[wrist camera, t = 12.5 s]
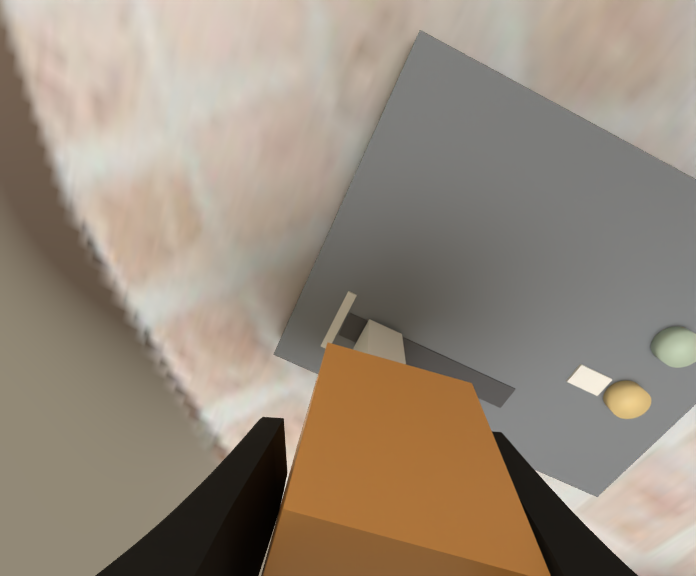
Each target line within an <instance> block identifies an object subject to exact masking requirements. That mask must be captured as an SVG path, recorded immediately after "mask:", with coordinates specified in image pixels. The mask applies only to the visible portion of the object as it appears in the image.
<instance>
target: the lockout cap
mask: <svg viewBox="0 0 696 576" xmlns="http://www.w3.org/2000/svg"><path fill="white" fill-rule="evenodd" d="M261 576H551V575H550V573H549V570H548V568H547V565H546V563H545V560H544V558H543V556H542V553H541V551H540V548H539V546H538V543H537V541H536V538H535V536H534V534H533V531H532V529H531V526H530V524H529V521H528V519H527V516H526V514H525V512H524V509H523V507H522V504H521V502H520V499H519V497H518V494H517V492H516V490H515V487H514V485H513V482H512V480H511V477H510V475H509V473H508V470H507V468H506V465H505V463H504V460H503V458H502V455H501V453H500V451H499V448H498V446H497V443H496V441H495V438H494V436H493V433H492V431H491V429H490V426H489V424H488V421H487V419H486V416H485V414H484V411H483V409H482V407H481V404H480V402H479V399H478V397H477V394H476V392H475V389H474V387H473V385H472V383H469V382H466V381H462V380H459V379H455V378H452V377H448V376H445V375H441V374H438V373H434V372H431V371H427V370H424V369H420V368H416V367H413V366H409V365H406V364H402V363H399V362H395V361H392V360H388V359H385V358H381V357H378V356H374V355H371V354H367V353H364V352H360V351H357V350H353V349H349V348H346V347H342V346H339V345H335V344H332V343H328V342H327V346H326V349H325V353H324V356H323V359H322V363H321V366H320V370H319V373H318V377H317V380H316V383H315V387H314V390H313V394H312V397H311V401H310V404H309V407H308V411H307V414H306V418H305V421H304V424H303V428H302V431H301V435H300V438H299V442H298V445H297V448H296V452H295V455H294V459H293V463H292V466H291V470H290V473H289V477H288V481H287V484H286V488H285V492H284V495H283V499H282V502H281V506H280V510H279V513H278V517H277V521H276V524H275V528H274V532H273V535H272V539H271V542H270V546H269V549H268V553H267V557H266V560H265V564H264V568H263V571H262V575H261Z"/></svg>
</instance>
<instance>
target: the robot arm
mask: <svg viewBox="0 0 696 576" xmlns="http://www.w3.org/2000/svg"><path fill="white" fill-rule="evenodd" d="M492 433H493V436H494V438H495V441H496V443H497V446H498V448H499V451H500V453H501V455H502V458H503V460H504V463H505V465H506V468H507V470H508V473H509V475H510V477H511V480H512V482H513V485H514V487H515V490H516V492H517V494H518V497H519V499H520V502H521V504H522V507H523V509H524V512H525V514H526V516H527V519H528V521H529V524H530V526H531V529H532V531H533V534H534V536H535V538H536V541H537V543H538V546H539V548H540V551H541V553H542V556H543V558H544V560H545V563H546V565H547V568H548V570H549V573H550V575H551V576H638V575H637V574H636V573H634V572H633V571H632V570H631V569H630V568H629V567H628V566H627V565H626V564H625V563H623V562H622V561H621V560H620V559H619V558H618V557H617V556H616V555H615V554H614V553H613V552H612V551H611V550H610V549H609V548H608V547H607V546H606V545H605V544H604V543H603V542H602V541H601V540H600V539H599V538H598V537H597V536H596V535H595V534H594V533H593V532H592V531H591V530H590V529H589V528H588V527H587V526H586V525H585V524H584V523H583V522H582V521H581V520H580V519H579V518H578V517H577V516H576V515H575V514H574V513H573V512H572V511H571V510H570V509H569V508H568V506H567V505H566V504H565V503H564V502H563V501H562V500H561V499H560V498H559V497H558V496H557V495H556V493H555V492H554V491H553V490H552V489H551V488H550V487H549V486H548V485H547V484H546V482H545V481H544V480H543V479H542V478H541V477H540V476H539V475H538V473H537V472H536V471H535V470H534V469H533V468H532V467H531V465H530V464H529V463H528V462H527V461H526V460H525V459H524V457H523V456H522V455H521V454H520V453H519V452H518V450H517V449H516V448H515V447H514V446H513V445H512V443H511V442H510V441H509V440H508V439H507V438H506V437H505V435H504V434H503V433H502V432H493V431H492ZM286 477H287V461H286V446H285V431H284V418H270V417H262V418H261V419H260V420H259V421H258V422H257V423H256V424H255V425H254V426H253V428H252V429H251V430H250V431H249V432H248V433H247V435H246V436H245V437H244V438H243V439H242V440H241V441H240V443H239V444H238V445H237V446H236V447H235V448H234V449H233V450H232V452H231V453H230V454H229V455H228V456H227V457H226V458H225V459H224V460H223V461H222V462H221V463H220V464H219V466H218V467H217V468H216V469H215V470H214V471H213V472H212V473H211V474H210V475H209V476H208V477H207V478H206V479H205V480H204V481H203V482H202V483H201V484H200V485H199V486H198V487H197V488H196V489H195V490H194V491H193V492H192V493H191V494H190V495H189V496H188V497H187V498H186V499H185V500H184V501H183V502H182V503H181V504H180V505H179V506H178V507H177V508H176V509H174V510H173V511H172V512H171V513H170V514H169V515H168V516H167V517H166V518H165V519H164V520H162V521H161V522H160V523H159V524H158V525H157V526H156V527H155V528H153V529H152V530H151V531H150V532H149V533H148V534H147V535H145V536H144V537H143V538H142V539H141V540H139V541H138V542H137V543H136V544H135V545H133V546H132V547H131V548H130V549H129V550H127V551H126V552H125V553H124V554H122V555H121V556H120V557H119V558H117V559H116V560H115V561H113V562H112V563H111V564H110V565H109V566H107V567H106V568H105V569H104V570H102V571H101V572H100V573H98V574H97V575H96V576H258V575H259V572H260V569H261V566H262V563H263V560H264V557H265V554H266V551H267V548H268V544H269V541H270V538H271V535H272V532H273V529H274V526H275V523H276V520H277V517H278V513H279V510H280V505H281V501H282V496H283V492H284V487H285V482H286Z"/></svg>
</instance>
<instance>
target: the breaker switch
mask: <svg viewBox="0 0 696 576" xmlns="http://www.w3.org/2000/svg"><path fill="white" fill-rule="evenodd" d="M353 350H357V351H360V352H364V353H367V354H371V355H374V356H378V357H381V358H385V359H388V360H392V361H395V362H399V363H402V364H406V360H405V353H404V345H403V338H402V334H401V333H399V332H396V331H394V330H392V329H390V328H388V327H386V326H383V325H381V324H379V323H377V322H375V321H373V320H370V319H369V320H368V322H367V324H366V326H365V328H364V330H363V331H362V333H361V335H360V337H359V339H358V340H357V342H356V344H355V346H354V348H353Z"/></svg>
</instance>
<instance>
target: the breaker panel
mask: <svg viewBox="0 0 696 576" xmlns="http://www.w3.org/2000/svg"><path fill="white" fill-rule="evenodd" d="M369 319H370V320H373V321H375V322H377V323H379V324H381V325H383V326H386V327H388V328H390V329H392V330H394V331H396V332H399V333H401V334H402V338H403V345H404V353H405V360H406V365H409V366H413V367H416V368H420V369H424V370H427V371H431V372H434V373H438V374H441V375H445V376H448V377H452V378H455V379H459V380H462V381H466V382H469V383H472V385H473V387H474V389H475V392H476V394H477V397H478V399H479V402H480V404H481V407H482V409H483V411H484V414H485V416H486V419H487V421H488V424H489V426H490V429H491V431H493V432H502V433H503V434H504V435H505V437H506V438H507V439H508V440H509V441H510V442H511V443H512V445H513V446H514V447H515V448H516V449H517V450H518V452H519V453H520V454H521V455H522V456H523V457H524V459H525V460H526V461H527V462H528V463H529V464H530V465H531V467H532V468H533V469H535V470H537V471H539V472H541V473H544V474H546V475H548V476H550V477H553V478H555V479H557V480H560V481H562V482H564V483H566V484H569V485H571V486H573V487H575V488H578V489H580V490H582V491H585V492H587V493H589V494H591V495H594V496H596V497H598V496H599V495H600V494H601V493H602V492H603V491H604V490H605V489H606V488H607V487H608V486H609V485H611V484H612V483H613V482H614V481H615V480H616V479H617V478H618V477H619V476H620V475H621V474H622V473H623V472H624V471H625V470H626V469H627V468H629V467H630V466H631V465H632V464H633V463H634V462H635V461H636V460H637V459H638V458H639V457H640V456H641V455H642V454H643V453H644V452H645V451H647V450H648V449H649V448H650V447H651V446H652V445H653V444H654V443H655V442H656V441H657V440H658V439H659V438H660V437H661V436H662V435H663V434H665V433H666V432H667V431H668V430H669V429H670V428H671V427H672V426H673V425H674V424H675V423H676V422H677V421H678V420H679V419H680V418H682V417H683V416H684V415H685V414H686V413H687V412H688V411H689V410H690V409H691V408H692V407H693V406H694V405H695V404H696V179H694V178H692V177H691V176H689V175H687V174H685V173H683V172H681V171H680V170H678V169H676V168H674V167H672V166H670V165H668V164H667V163H665V162H663V161H661V160H659V159H657V158H656V157H654V156H652V155H650V154H648V153H646V152H644V151H643V150H641V149H639V148H637V147H635V146H633V145H632V144H630V143H628V142H626V141H624V140H622V139H620V138H619V137H617V136H615V135H613V134H611V133H609V132H608V131H606V130H604V129H602V128H600V127H598V126H596V125H595V124H593V123H591V122H589V121H587V120H585V119H584V118H582V117H580V116H578V115H576V114H574V113H572V112H571V111H569V110H567V109H565V108H563V107H561V106H560V105H558V104H556V103H554V102H552V101H550V100H548V99H547V98H545V97H543V96H541V95H539V94H537V93H536V92H534V91H532V90H530V89H528V88H526V87H524V86H523V85H521V84H519V83H517V82H515V81H513V80H512V79H510V78H508V77H506V76H504V75H502V74H500V73H499V72H497V71H495V70H493V69H491V68H489V67H488V66H486V65H484V64H482V63H480V62H478V61H476V60H475V59H473V58H471V57H469V56H467V55H465V54H464V53H462V52H460V51H458V50H456V49H454V48H452V47H451V46H449V45H447V44H445V43H443V42H441V41H440V40H438V39H436V38H434V37H432V36H430V35H428V34H427V33H425V32H423V31H421V30H420V31H419V33H418V36H417V38H416V40H415V42H414V44H413V47H412V49H411V51H410V53H409V55H408V58H407V60H406V62H405V64H404V67H403V69H402V71H401V73H400V75H399V78H398V80H397V82H396V84H395V86H394V89H393V91H392V93H391V95H390V98H389V100H388V102H387V104H386V106H385V109H384V111H383V113H382V115H381V117H380V120H379V122H378V124H377V126H376V129H375V131H374V133H373V135H372V137H371V140H370V142H369V144H368V146H367V149H366V151H365V153H364V155H363V157H362V160H361V162H360V164H359V166H358V168H357V171H356V173H355V175H354V177H353V180H352V182H351V184H350V186H349V188H348V191H347V193H346V195H345V197H344V199H343V202H342V204H341V206H340V208H339V211H338V213H337V215H336V217H335V219H334V222H333V224H332V226H331V228H330V230H329V233H328V235H327V237H326V239H325V242H324V244H323V246H322V248H321V250H320V253H319V255H318V257H317V259H316V261H315V264H314V266H313V268H312V270H311V273H310V275H309V277H308V279H307V281H306V284H305V286H304V288H303V290H302V292H301V295H300V297H299V299H298V301H297V304H296V306H295V308H294V310H293V312H292V315H291V317H290V319H289V321H288V323H287V326H286V328H285V330H284V332H283V335H282V337H281V339H280V341H279V343H278V346H277V348H276V350H275V352H274V354H273V355H276V356H278V357H280V358H282V359H285V360H287V361H289V362H292V363H294V364H296V365H298V366H301V367H303V368H305V369H307V370H310V371H312V372H314V373H317V374H318V373H319V370H320V366H321V363H322V359H323V356H324V353H325V349H326V346H327V342H328V343H332V344H335V345H339V346H342V347H346V348H349V349H353V348H354V346H355V344H356V342H357V340H358V339H359V337H360V335H361V333H362V331H363V330H364V328H365V326H366V324H367V322H368V320H369Z"/></svg>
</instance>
